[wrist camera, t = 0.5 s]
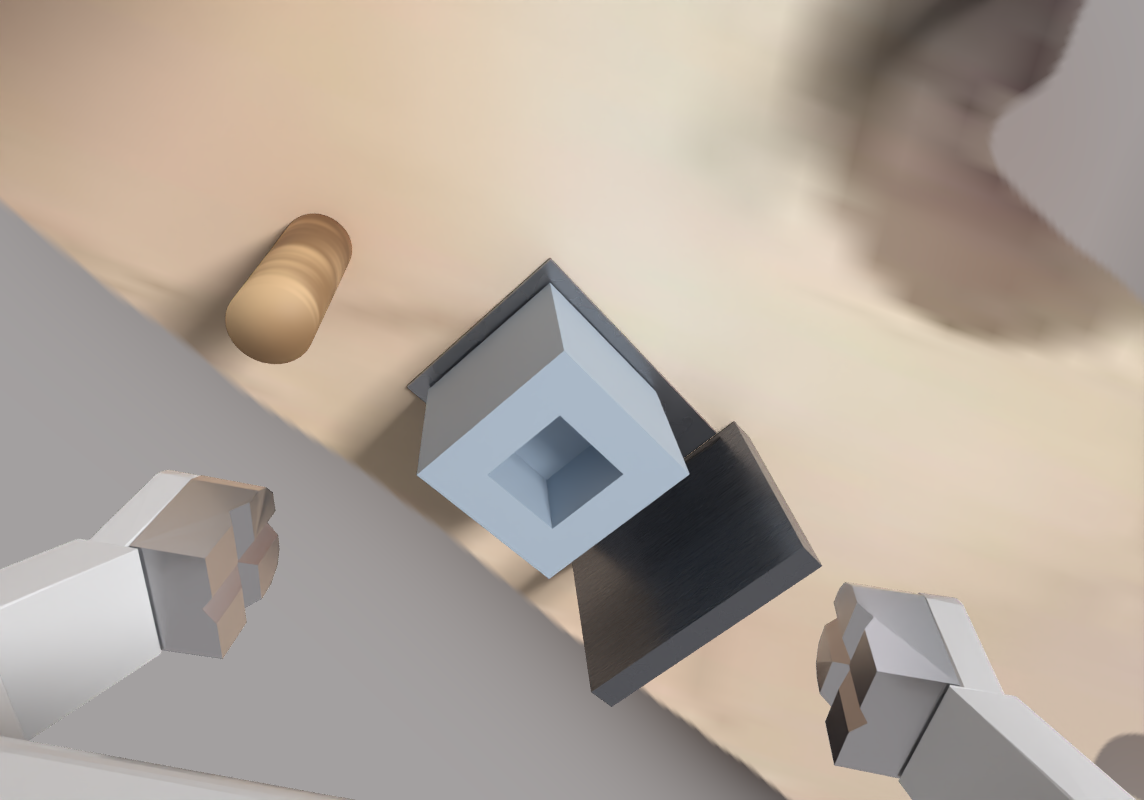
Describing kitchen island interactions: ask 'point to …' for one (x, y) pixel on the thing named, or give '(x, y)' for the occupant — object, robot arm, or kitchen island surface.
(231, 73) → the kitchen island surface
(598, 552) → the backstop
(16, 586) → the robot arm
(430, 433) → the socket block
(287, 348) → the dowel
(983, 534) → the kitchen island surface
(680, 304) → the kitchen island surface
